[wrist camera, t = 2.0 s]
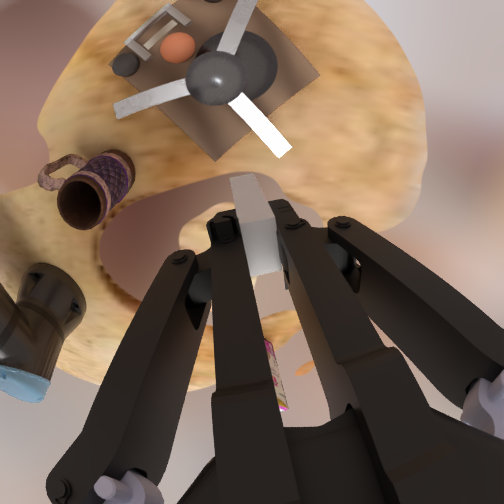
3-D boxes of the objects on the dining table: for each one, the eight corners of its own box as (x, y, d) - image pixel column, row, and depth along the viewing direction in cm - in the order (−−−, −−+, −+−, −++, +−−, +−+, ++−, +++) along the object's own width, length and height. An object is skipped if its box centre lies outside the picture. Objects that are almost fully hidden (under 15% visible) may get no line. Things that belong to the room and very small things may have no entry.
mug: (146, 167, 33) (119, 199, 23) (120, 205, 36) (90, 248, 26) (92, 127, 29) (46, 144, 19) (69, 168, 31) (24, 198, 21)
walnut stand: (215, 159, 34) (215, 165, 31) (112, 65, 25) (102, 63, 22) (316, 76, 29) (326, 74, 26) (216, -22, 20) (216, -32, 17)
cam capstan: (217, 190, 35) (218, 215, 28) (126, 107, 27) (102, 111, 20) (326, 98, 30) (356, 101, 23) (241, 7, 22) (250, -17, 15)
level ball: (178, 71, 26) (173, 67, 22) (156, 52, 24) (149, 46, 21) (203, 49, 25) (202, 43, 21) (181, 30, 23) (177, 22, 19)
